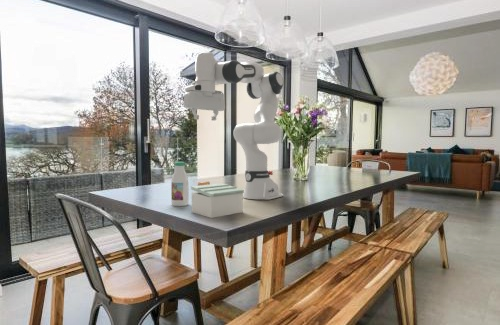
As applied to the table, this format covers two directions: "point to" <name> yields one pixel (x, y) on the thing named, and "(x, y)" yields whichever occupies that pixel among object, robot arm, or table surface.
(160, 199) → the table surface
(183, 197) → the milk bottle
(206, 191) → the snap lid
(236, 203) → the box
